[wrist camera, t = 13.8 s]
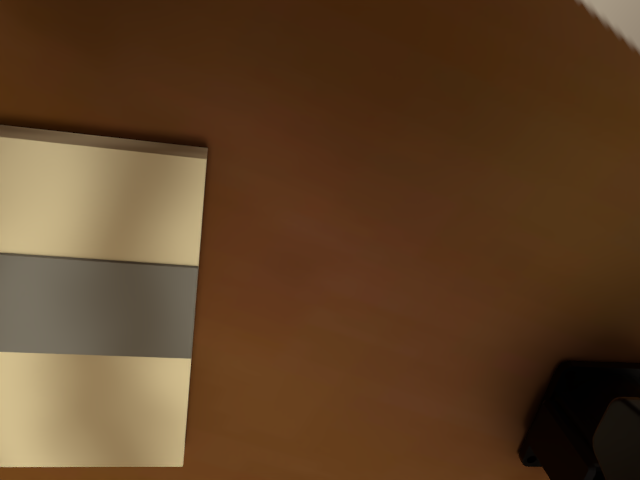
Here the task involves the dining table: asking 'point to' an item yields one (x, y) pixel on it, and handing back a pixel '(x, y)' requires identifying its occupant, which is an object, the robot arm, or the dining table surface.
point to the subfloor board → (96, 298)
